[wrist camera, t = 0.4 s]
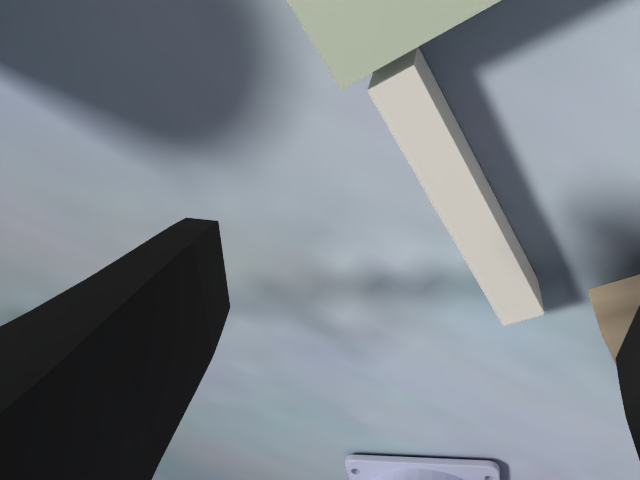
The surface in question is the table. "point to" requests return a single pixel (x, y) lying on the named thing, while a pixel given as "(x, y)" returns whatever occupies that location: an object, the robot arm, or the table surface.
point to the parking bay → (427, 128)
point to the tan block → (616, 309)
